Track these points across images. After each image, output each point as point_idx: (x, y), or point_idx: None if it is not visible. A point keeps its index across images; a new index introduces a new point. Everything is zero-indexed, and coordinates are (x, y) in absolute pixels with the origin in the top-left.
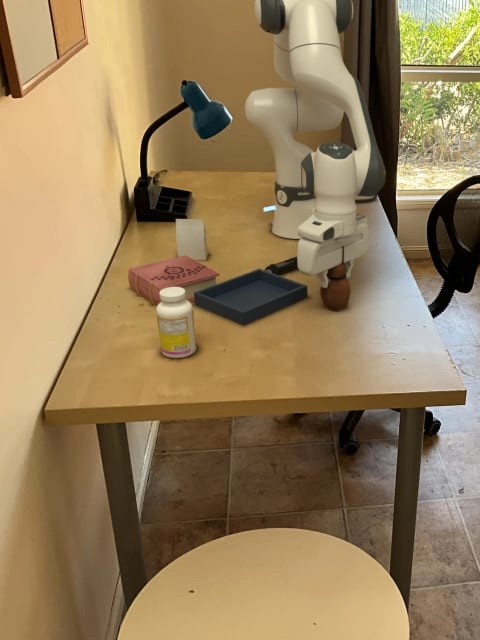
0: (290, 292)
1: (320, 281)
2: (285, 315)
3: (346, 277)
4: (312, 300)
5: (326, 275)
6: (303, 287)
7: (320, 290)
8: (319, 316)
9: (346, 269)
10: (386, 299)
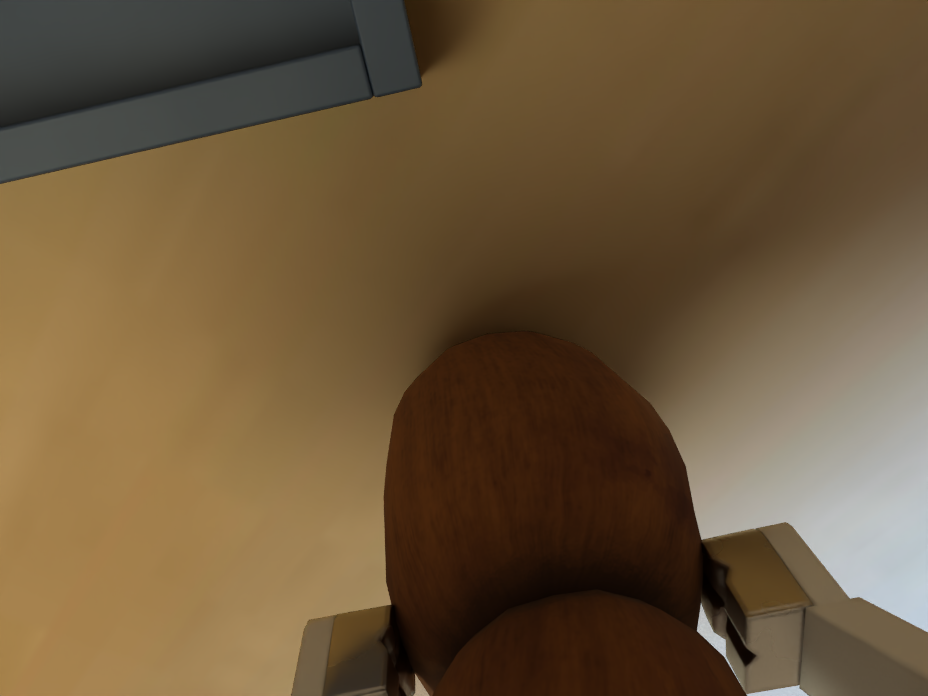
0: (96, 149)
1: (297, 675)
2: (20, 310)
3: (716, 625)
4: (425, 169)
5: (507, 562)
6: (343, 103)
7: (392, 442)
8: (294, 467)
9: (818, 667)
10: (899, 488)
